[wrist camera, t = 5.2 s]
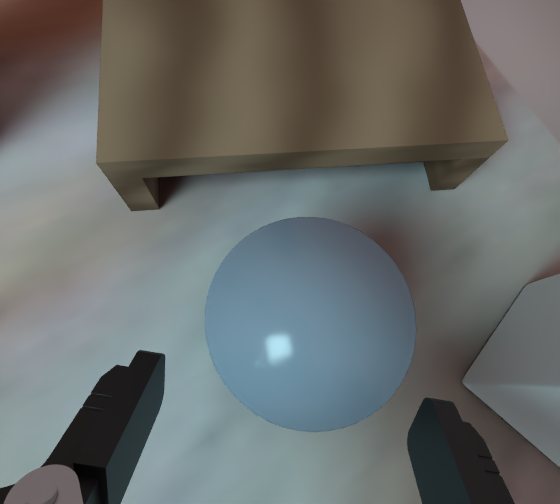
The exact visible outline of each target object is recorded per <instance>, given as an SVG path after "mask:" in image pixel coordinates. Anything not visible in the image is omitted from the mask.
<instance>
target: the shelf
mask: <svg viewBox="0 0 560 504" xmlns="http://www.w3.org/2000/svg"><path fill="white" fill-rule="evenodd" d="M507 141H508V138H507V135H506V132H505V130H504V127H503V124H502V121H501V118H500V115H499V112H498V109H497V106H496V103H495V100H494V97H493V94H492V91H491V88H490V86H489V83H488V80H487V77H486V74H485V71H484V68H483V65H482V62H481V59H480V56H479V53H478V50H477V47H476V44H475V42H474V39H473V36H472V33H471V30H470V27H469V24H468V21H467V18H466V15H465V12H464V9H463V6H462V3H461V0H103V11H102V35H101V59H100V83H99V107H98V131H97V155H96V163H97V165H98V166H99V167H100V169H101V170H102V172H103V173H104V174H105V176H106V177H107V178H108V180H109V181H110V182H111V184H112V185H113V187H114V188H115V189H116V191H117V192H118V193H119V195H120V196H121V198H122V199H123V200H124V202H125V203H126V204H127V206H128V207H129V208H130V210H131V211H140V210H154V209H159V177H169V176H186V175H203V174H220V173H237V172H253V171H270V170H287V169H304V168H320V167H337V166H354V165H371V164H387V163H404V162H421V161H424V165H425V169H426V173H427V177H428V181H429V185H430V189H431V191H432V190H447V189H455V188H456V187H457V186H458V185H459V184H460V183H462V182H463V181H464V180H465V179H466V178H467V177H468V176H469V175H470V174H472V173H473V172H474V171H475V170H476V169H477V168H478V167H479V166H480V165H481V164H483V163H484V162H485V161H486V160H487V159H488V158H489V157H490V156H491V155H493V154H494V153H495V152H496V151H497V150H498V149H499V148H500V147H501V146H502V145H504V144H505V143H506V142H507Z"/></svg>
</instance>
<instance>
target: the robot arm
mask: <svg viewBox="0 0 560 504" xmlns="http://www.w3.org/2000/svg"><path fill="white" fill-rule="evenodd" d="M164 381H165V355H164V354H161V353H155V352H149V351H143V350H139V351H138V352H137V353H136V355H135V357H134V358H133V360H132V362H131V363H130V365H129V367H126V366H120V365H116V366H115V367H113V368H112V369H111V370H110V371H108V372H107V373H106V374H104V375H103V376H102V377H101V378H100V380H99V381H98V383H97V384H96V386H95V387H94V389H93V390H92V392H91V395H89V396H88V398H87V400H86V401H85V403H84V404H83V407H82V408H81V409H80V410H79V412H78V413H77V415H76V416H75V418H74V419H73V421H72V423H71V424H70V426H69V427H68V429H67V430H66V432H65V433H64V435H63V436H62V438H61V439H60V441H59V443H58V444H57V446H56V447H55V449H54V450H53V452H52V453H51V455H50V456H49V458H48V459H47V461H46V462H45V463H44V464H43V465H42V466H41V467H40V468H38V469H36V470H33V471H32V472H30V473H28V474H27V475H25V476H24V477H23V478H21V479H20V480H19V481H18V482H17V483H16V484H13V485H10V486H8V487H4V488H0V504H120V503H121V501H122V499H123V496H124V494H125V491H126V489H127V487H128V484H129V482H130V480H131V477H132V475H133V472H134V470H135V468H136V465H137V463H138V460H139V458H140V456H141V453H142V451H143V448H144V446H145V444H146V441H147V439H148V436H149V434H150V432H151V429H152V427H153V424H154V422H155V420H156V417H157V415H158V413H159V410H160V407H161V404H162V400H163V395H164ZM407 446H408V452H409V456H410V460H411V463H412V467H413V471H414V474H415V478H416V482H417V485H418V489H419V493H420V496H421V500H422V504H515V503H514V501H513V499H512V497H511V495H510V493H509V491H508V489H507V487H506V485H505V483H504V481H503V479H502V477H501V476H500V475H499V473H500V472H499V470H498V468H497V466H496V464H495V462H494V461H492V456H491V454H490V452H489V450H488V448H487V446H486V443H485V441H484V439H483V438H482V437H481V436H480V435H479V434H478V432H477V431H476V430H475V429H474V428H473V427H472V425H471V424H470V423H467V422H462V419H461V417H460V415H459V413H458V410H457V408H456V406H455V405H454V403H453V402H451V401H445V400H438V399H432V398H425V399H424V400H423V402H422V404H421V406H420V408H419V410H418V412H417V414H416V416H415V418H414V421H413V423H412V425H411V427H410V429H409V432H408V438H407Z"/></svg>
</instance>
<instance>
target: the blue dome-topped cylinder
mask: <svg viewBox="0 0 560 504" xmlns="http://www.w3.org/2000/svg"><path fill="white" fill-rule="evenodd" d="M205 332H206V340H207V344H208V348H209V352H210V356H211V358H212V361H213V363H214V366H215V368H216V370H217V372H218V374H219V375H220V377H221V379H222V381H223V382H224V384H225V385H226V386H227V388H228V389H229V390H230V391H231V393H232V394H233V395H234V396H235V397H236V398H237V399H238V400H239V401H240V402H241V403H242V404H243V405H244V406H245V407H247V408H248V409H249V410H251V411H252V412H253V413H255V414H256V415H258V416H260V417H262V418H263V419H265V420H267V421H269V422H271V423H274V424H276V425H279V426H281V427H285V428H289V429H293V430H297V431H308V432H320V431H331V430H335V429H340V428H344V427H347V426H349V425H352V424H355V423H357V422H359V421H361V420H363V419H365V418H366V417H368V416H370V415H371V414H373V413H374V412H375V411H377V410H378V409H379V408H381V407H382V406H383V405H384V404H385V403H386V402H387V401H388V400H389V399H390V398H391V397H392V395H393V394H394V393H395V391H396V390H397V389H398V387H399V386H400V384H401V382H402V381H403V379H404V377H405V375H406V373H407V371H408V368H409V365H410V363H411V360H412V356H413V352H414V348H415V340H416V316H415V309H414V304H413V300H412V297H411V293H410V290H409V288H408V285H407V283H406V281H405V279H404V277H403V275H402V273H401V272H400V270H399V268H398V267H397V265H396V264H395V262H394V261H393V260H392V258H391V257H390V256H389V255H388V254H387V253H386V252H385V251H384V250H383V248H382V247H381V246H379V245H378V244H377V243H376V242H375V241H373V240H372V239H371V238H369V237H368V236H366V235H365V234H363V233H362V232H360V231H358V230H356V229H354V228H352V227H350V226H348V225H346V224H343V223H340V222H337V221H333V220H329V219H325V218H316V217H297V218H289V219H284V220H280V221H277V222H273V223H271V224H268V225H266V226H264V227H261V228H260V229H258V230H256V231H254V232H253V233H251V234H250V235H248V236H247V237H246V238H244V239H243V240H241V241H240V242H239V243H238V244H237V245H236V246H235V247H234V248H233V249H232V250H231V251H230V253H229V254H228V255H227V256H226V258H225V259H224V260H223V262H222V263H221V265H220V267H219V268H218V270H217V272H216V274H215V276H214V278H213V281H212V283H211V286H210V289H209V293H208V296H207V302H206V309H205Z"/></svg>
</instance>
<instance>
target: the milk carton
mask: <svg viewBox="0 0 560 504" xmlns="http://www.w3.org/2000/svg"><path fill="white" fill-rule="evenodd" d="M462 383H463V384H464V385H465V386H466V387H467V388H468V389H469V390H470V391H472V392H473V393H474V394H475V395H476V396H477V397H479V398H480V399H481V400H482V401H483V402H484V403H486V404H487V405H488V406H489V407H490V408H491V409H492V410H494V411H495V412H496V413H497V414H498V415H499V416H501V417H502V418H503V419H504V420H505V421H506V422H507V423H509V424H510V425H511V426H512V427H513V428H514V429H516V430H517V431H518V432H519V433H520V434H521V435H523V436H524V437H525V438H526V439H527V440H528V441H529V442H531V443H532V444H533V445H534V446H535V447H536V448H538V449H539V450H540V451H541V452H542V453H543V454H545V455H546V456H547V457H548V458H549V459H550V460H551V461H553V462H554V463H555V464H556V465H557V466H558V467H560V274H557V275H554V276H551V277H548V278H544V279H541V280H538V281H535V282H532V283H529V284H527V285H526V286H525V287H524V289H523V290H522V291H521V293H520V294H519V296H518V297H517V299H516V300H515V302H514V303H513V305H512V306H511V308H510V309H509V311H508V312H507V314H506V315H505V317H504V318H503V320H502V321H501V322H500V324H499V325H498V327H497V328H496V330H495V331H494V333H493V334H492V336H491V337H490V339H489V340H488V342H487V343H486V345H485V346H484V348H483V349H482V351H481V352H480V354H479V355H478V357H477V358H476V360H475V361H474V363H473V364H472V366H471V367H470V369H469V370H468V372H467V373H466V375H465V376H464V378H463V380H462Z"/></svg>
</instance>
